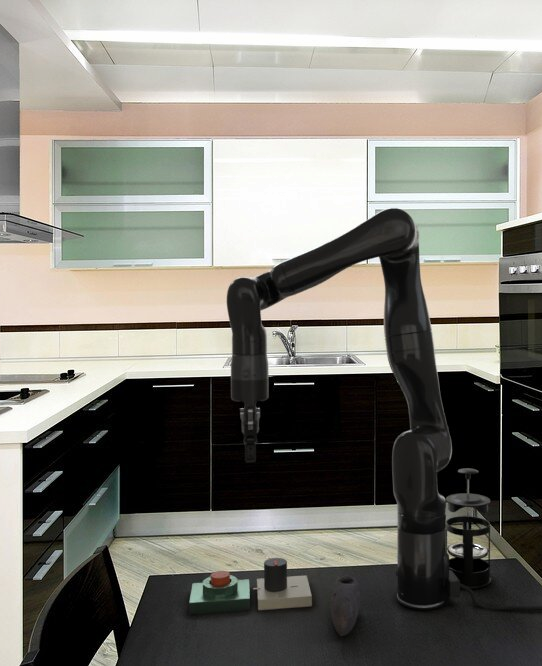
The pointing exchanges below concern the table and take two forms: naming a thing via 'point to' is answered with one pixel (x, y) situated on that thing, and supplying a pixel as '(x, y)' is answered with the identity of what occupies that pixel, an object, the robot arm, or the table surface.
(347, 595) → the perforated stone tool
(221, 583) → the button
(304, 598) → the control panel
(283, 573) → the dial
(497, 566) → the table surface
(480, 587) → the french press
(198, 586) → the button box
